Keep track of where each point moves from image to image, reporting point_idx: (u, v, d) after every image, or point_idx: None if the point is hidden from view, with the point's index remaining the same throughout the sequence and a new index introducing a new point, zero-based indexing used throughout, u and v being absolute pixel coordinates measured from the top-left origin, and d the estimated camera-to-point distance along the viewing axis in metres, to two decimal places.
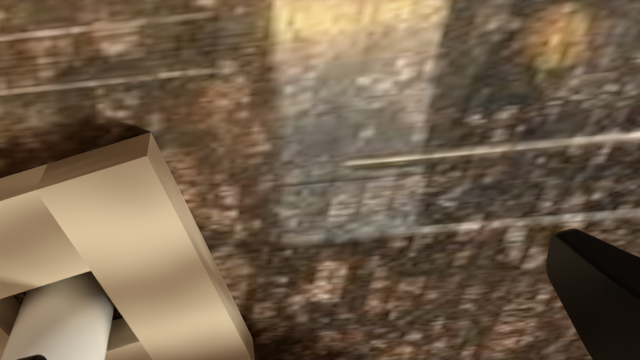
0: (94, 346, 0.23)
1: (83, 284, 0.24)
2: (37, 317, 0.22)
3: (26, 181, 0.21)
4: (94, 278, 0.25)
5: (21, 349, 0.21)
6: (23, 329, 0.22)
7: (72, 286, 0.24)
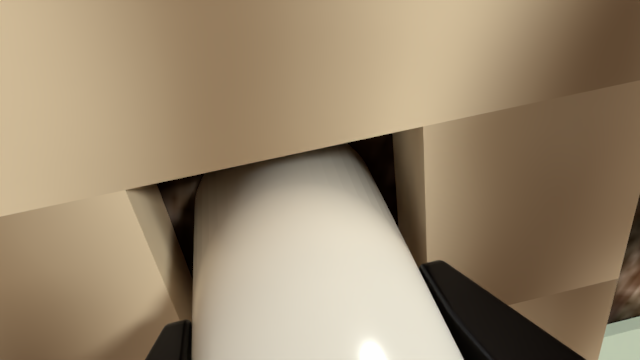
0: (281, 282, 0.07)
1: (211, 202, 0.10)
2: None
3: None
4: (224, 170, 0.10)
5: None
6: None
7: (200, 229, 0.10)
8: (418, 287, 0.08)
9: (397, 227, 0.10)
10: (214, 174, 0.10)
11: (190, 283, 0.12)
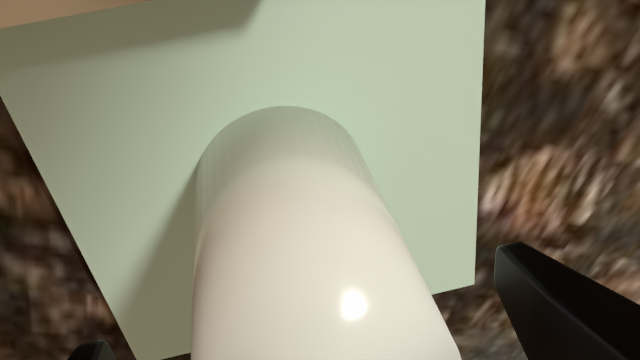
0: (273, 234, 0.08)
1: (211, 173, 0.11)
2: None
3: None
4: (223, 144, 0.11)
5: None
6: None
7: (200, 197, 0.11)
8: (396, 242, 0.09)
9: (381, 196, 0.10)
10: (214, 149, 0.11)
11: None
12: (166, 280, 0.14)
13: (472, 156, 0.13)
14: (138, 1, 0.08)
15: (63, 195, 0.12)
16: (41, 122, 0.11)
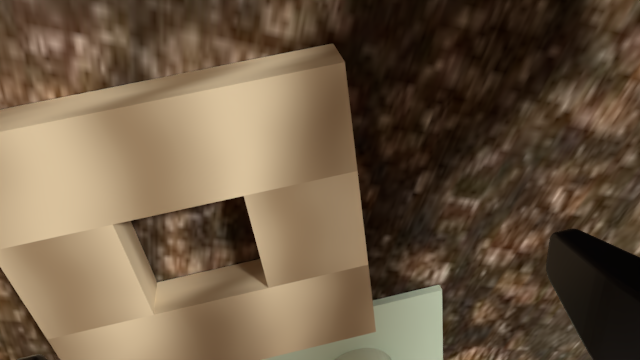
0: None
1: None
2: None
3: None
4: None
5: None
6: None
7: None
8: None
9: None
10: None
11: (148, 267, 0.24)
12: None
13: (439, 356, 0.31)
14: (323, 343, 0.26)
15: None
16: None
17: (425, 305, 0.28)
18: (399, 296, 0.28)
